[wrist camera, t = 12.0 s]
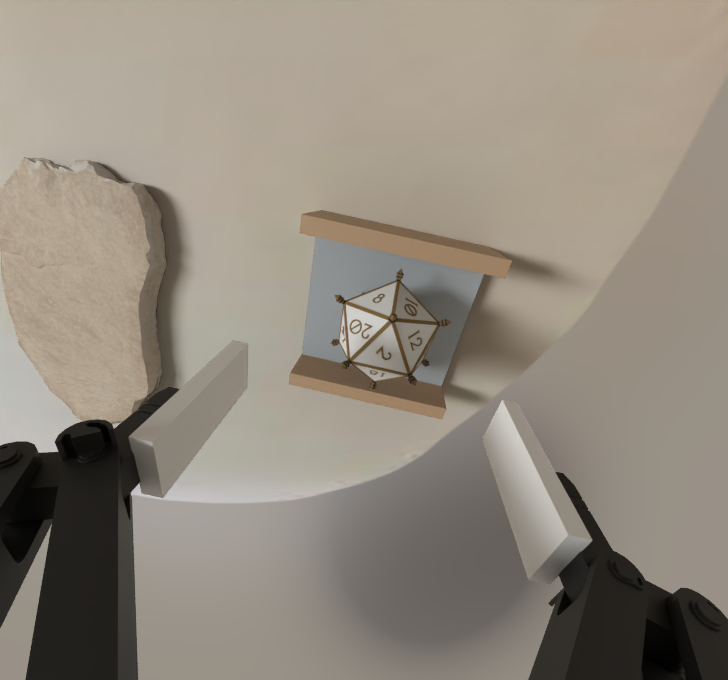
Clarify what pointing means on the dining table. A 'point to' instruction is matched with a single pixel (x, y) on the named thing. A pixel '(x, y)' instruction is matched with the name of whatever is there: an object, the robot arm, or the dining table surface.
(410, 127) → the dining table surface
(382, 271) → the track
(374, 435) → the dining table surface
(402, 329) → the game die
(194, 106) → the dining table surface
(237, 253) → the dining table surface
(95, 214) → the stone tablet
